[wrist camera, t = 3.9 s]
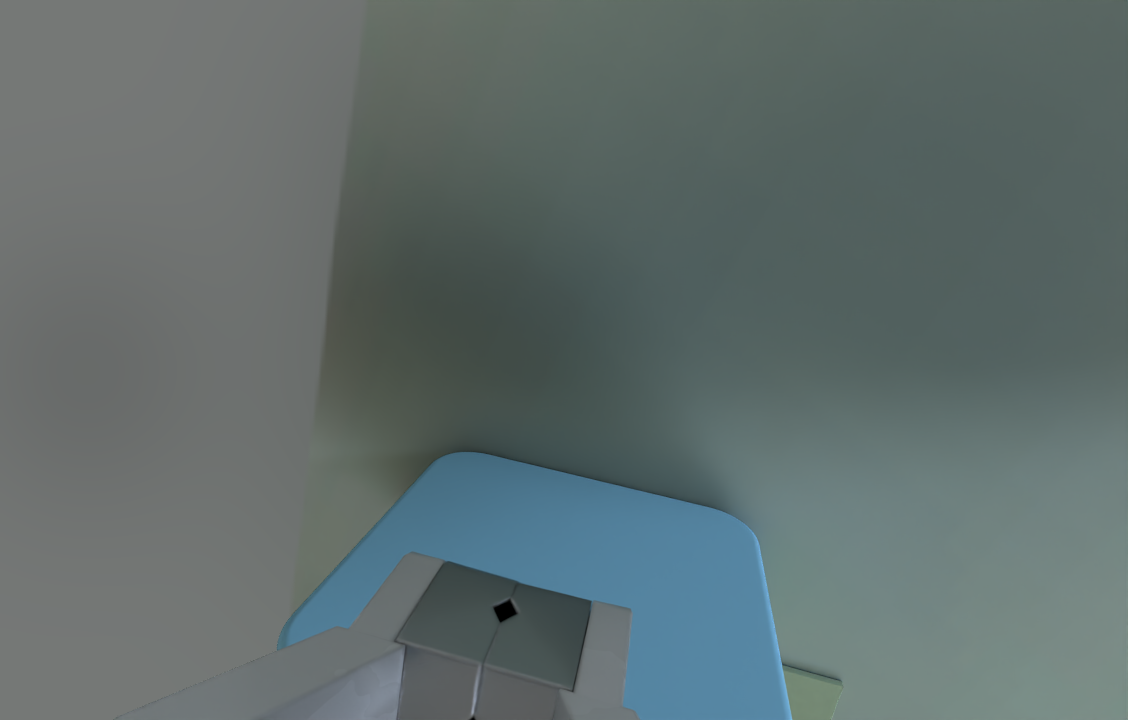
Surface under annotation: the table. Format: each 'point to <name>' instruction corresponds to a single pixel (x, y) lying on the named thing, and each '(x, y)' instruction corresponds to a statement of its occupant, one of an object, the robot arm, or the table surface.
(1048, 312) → the table surface
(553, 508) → the data package
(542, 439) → the table surface
